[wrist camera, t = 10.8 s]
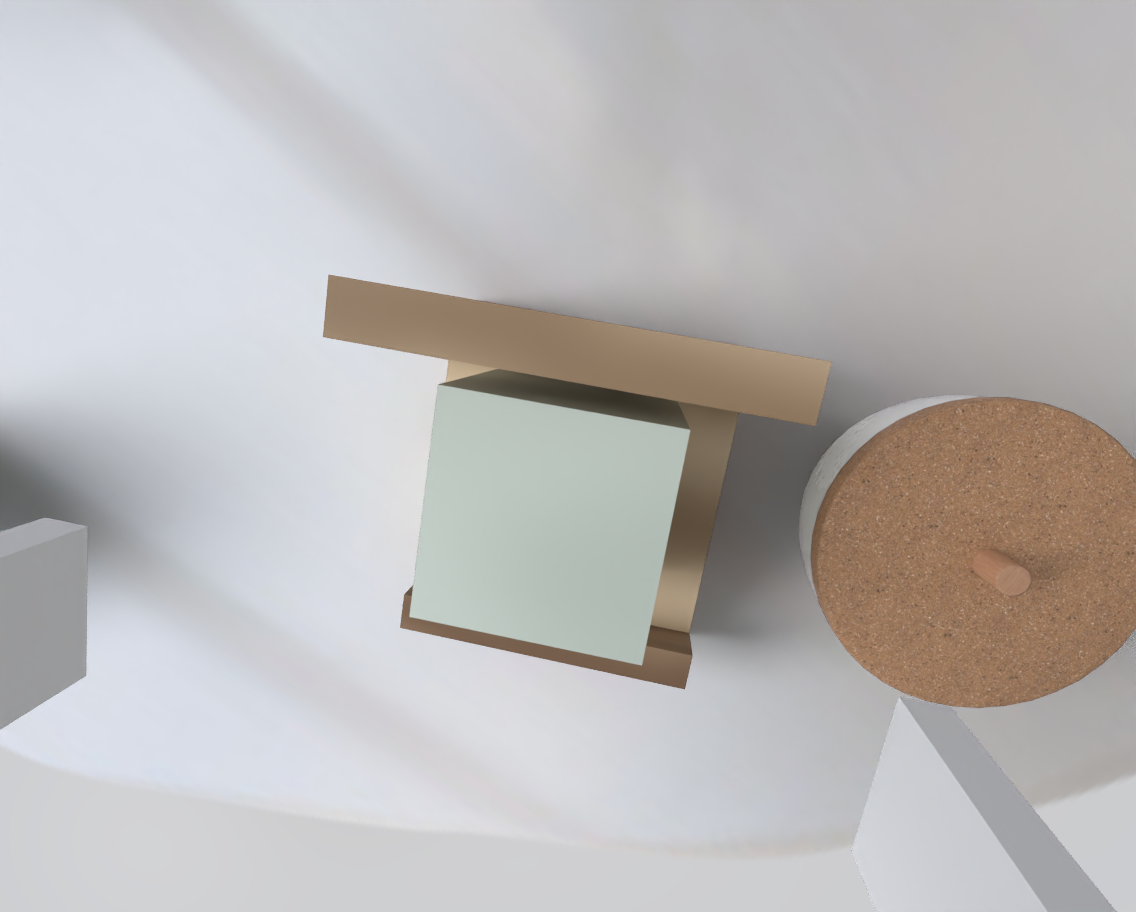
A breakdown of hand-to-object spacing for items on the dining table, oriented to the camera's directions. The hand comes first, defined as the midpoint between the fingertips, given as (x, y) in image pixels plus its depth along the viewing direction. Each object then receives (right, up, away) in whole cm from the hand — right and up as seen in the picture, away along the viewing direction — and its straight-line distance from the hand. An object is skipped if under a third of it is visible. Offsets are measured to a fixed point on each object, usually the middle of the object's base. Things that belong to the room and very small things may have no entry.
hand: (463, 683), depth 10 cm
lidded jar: (+16, +2, +19) cm, 25 cm away
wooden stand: (+2, +3, +20) cm, 20 cm away
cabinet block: (+2, +3, +17) cm, 17 cm away
